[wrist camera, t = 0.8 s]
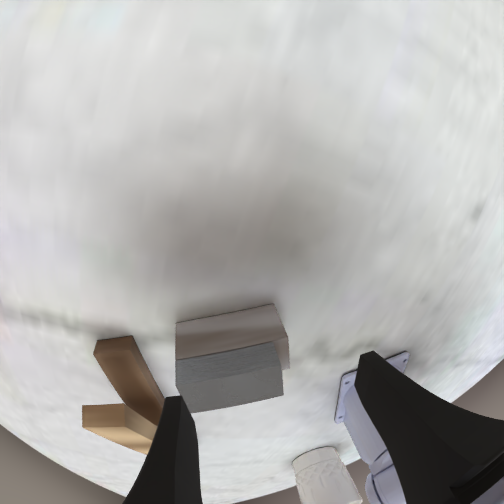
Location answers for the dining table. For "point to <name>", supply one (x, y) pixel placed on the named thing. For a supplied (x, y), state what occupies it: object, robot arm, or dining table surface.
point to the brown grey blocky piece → (188, 352)
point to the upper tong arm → (119, 425)
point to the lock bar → (230, 378)
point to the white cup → (324, 478)
